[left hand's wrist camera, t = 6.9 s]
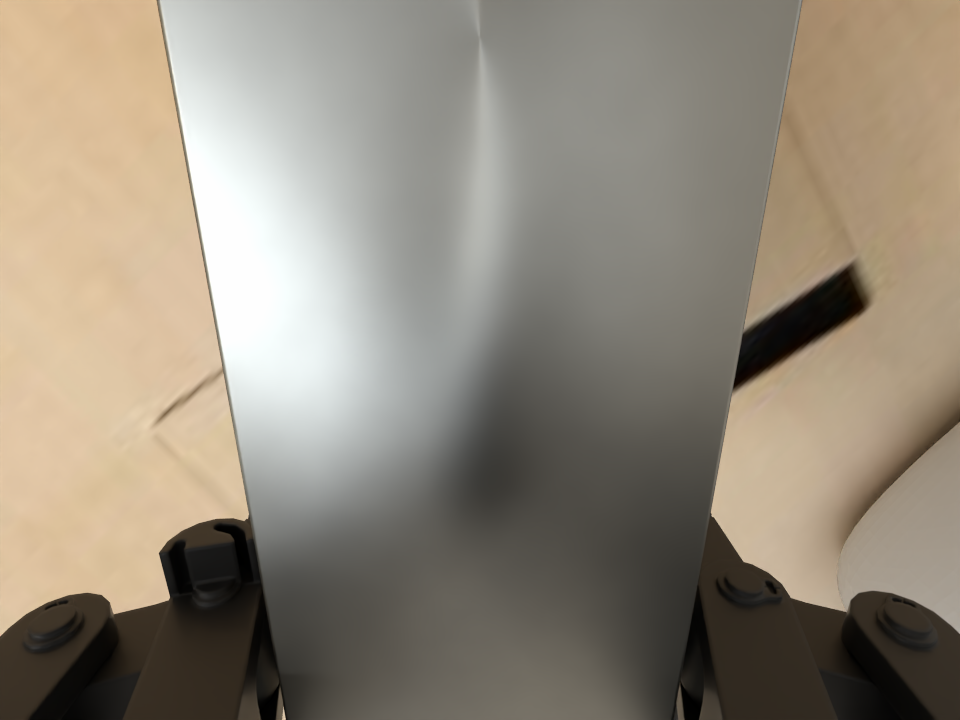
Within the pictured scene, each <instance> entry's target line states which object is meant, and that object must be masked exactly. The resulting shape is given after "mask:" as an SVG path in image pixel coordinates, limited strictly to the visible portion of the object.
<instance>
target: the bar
mask: <svg viewBox="0 0 960 720" xmlns="http://www.w3.org/2000/svg"><path fill="white" fill-rule="evenodd" d="M157 5H158V11H159V16H160V22H161V27H162V33H163V38H164V44H165V49H166V55H167V61H168V66H169V72H170V77H171V83H172V88H173V94H174V100H175V105H176V111H177V116H178V122H179V127H180V133H181V138H182V144H183V150H184V155H185V161H186V166H187V172H188V177H189V183H190V188H191V194H192V200H193V205H194V211H195V216H196V222H197V227H198V233H199V239H200V244H201V250H202V255H203V261H204V266H205V272H206V277H207V283H208V289H209V294H210V300H211V305H212V311H213V316H214V322H215V327H216V333H217V339H218V344H219V350H220V355H221V361H222V366H223V372H224V378H225V383H226V389H227V394H228V400H229V405H230V411H231V416H232V422H233V428H234V433H235V439H236V444H237V450H238V455H239V461H240V466H241V472H242V478H243V483H244V489H245V494H246V500H247V505H248V511H249V517H250V522H251V528H252V533H253V539H254V544H255V550H256V555H257V561H258V567H259V572H260V578H261V583H262V589H263V594H264V600H265V606H266V611H267V617H268V622H269V628H270V633H271V639H272V644H273V650H274V656H275V661H276V667H277V672H278V678H279V683H280V689H281V694H282V700H283V706H284V711H285V717H286V720H673V719H674V713H675V708H676V702H677V697H678V691H679V685H680V680H681V674H682V669H683V663H684V658H685V652H686V646H687V641H688V635H689V630H690V624H691V619H692V613H693V607H694V602H695V596H696V591H697V585H698V580H699V574H700V568H701V563H702V557H703V552H704V546H705V541H706V535H707V529H708V524H709V518H710V513H711V507H712V502H713V496H714V490H715V485H716V479H717V474H718V468H719V463H720V457H721V451H722V446H723V440H724V435H725V429H726V424H727V418H728V412H729V407H730V401H731V396H732V390H733V385H734V379H735V373H736V368H737V362H738V357H739V351H740V346H741V340H742V334H743V329H744V323H745V318H746V312H747V307H748V301H749V295H750V290H751V284H752V279H753V273H754V268H755V262H756V256H757V251H758V245H759V240H760V234H761V229H762V223H763V217H764V212H765V206H766V201H767V195H768V190H769V184H770V178H771V173H772V167H773V162H774V156H775V151H776V145H777V139H778V134H779V128H780V123H781V117H782V112H783V106H784V100H785V95H786V89H787V84H788V78H789V73H790V67H791V61H792V56H793V50H794V45H795V39H796V34H797V28H798V22H799V17H800V11H801V6H802V0H157Z"/></svg>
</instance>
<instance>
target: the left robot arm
mask: <svg viewBox="0 0 960 720" xmlns="http://www.w3.org/2000/svg"><path fill="white" fill-rule="evenodd" d="M159 555H160V559H161V563H162V567H163V571H164V575H165V579H166V582H167V586H168V590H169V594H170V599H169V601H165V602H162V603H159V604H156V605H152V606H148V607H143V608H139V609H135V610H131V611H126V612H122V613H118V614H114V615H113V612H112V608H111V605H110V602H109V601H108V600H106V599H105V598H104V597H103V596H102V595H97V594H92V593H82V594H75V595H68V596H65V597H62V598H60V599H57V600H54V601H51V602H48V603H46V604H44V605H42V606H40V607H39V608H37V609H35V610H33V611H31V612H29V613H28V614H26V615H25V616H24V617H22V618H21V619H20V620H19V621H17V622H16V623H15V624H14V625H12V626H11V627H10V628H9V629H8V630H7V631H6V632H5V633H4V634H3V635H1V636H0V720H282V714H283V700H282V694H281V689H280V683H279V678H278V672H277V667H276V661H275V656H274V650H273V644H272V639H271V633H270V628H269V622H268V617H267V611H266V606H265V600H264V594H263V589H262V583H261V578H260V572H259V567H258V561H257V555H256V550H255V544H254V539H253V533H252V528H251V522H250V517H249V518H248V519H246V520H245V521H241V520H237V519H234V518H231V519H215V520H211V521H206V522H202V523H199V524H196V525H194V526H192V527H190V528H188V529H185V530H183V531H181V532H180V533H179V534H177V535H176V536H175V537H173V538H172V539H170V540H169V541H168V542H167V543H166V544H165V546H164V547H163V548H162V550H161V551H160V552H159ZM673 720H960V634H959V633H958V632H957V631H956V630H955V629H954V628H953V627H952V626H951V625H950V624H949V623H947V622H946V621H945V620H944V619H942V618H941V617H940V616H939V615H937V614H936V613H935V612H934V611H932V610H930V609H928V608H926V607H924V606H922V605H921V604H919V603H917V602H915V601H913V600H910V599H908V598H905V597H902V596H899V595H896V594H893V593H888V592H880V591H867V592H861V593H858V594H857V595H856V596H855V597H853V598H852V599H851V600H850V604H849V607H848V610H847V612H843V611H839V610H835V609H830V608H826V607H822V606H818V605H813V604H809V603H805V602H802V601H798V600H795V599H792V598H790V596H789V594H788V593H787V591H786V590H785V588H784V587H783V585H782V584H781V583H780V582H779V581H777V580H776V579H775V578H774V577H773V576H771V575H770V574H769V573H768V572H766V571H764V570H762V569H760V568H758V567H756V566H754V565H752V564H748V563H745V562H743V561H742V559H741V558H740V556H739V555H738V553H737V552H736V550H735V549H734V547H733V546H732V544H731V543H730V541H729V540H728V538H727V537H726V535H725V534H724V532H723V531H722V529H721V528H720V526H719V525H718V523H717V522H716V520H715V519H714V517H712V516H711V513H710V518H709V524H708V529H707V535H706V541H705V546H704V552H703V557H702V563H701V568H700V574H699V580H698V585H697V591H696V596H695V602H694V607H693V613H692V619H691V624H690V630H689V635H688V641H687V646H686V652H685V658H684V663H683V669H682V674H681V680H680V685H679V691H678V697H677V702H676V708H675V713H674V719H673Z"/></svg>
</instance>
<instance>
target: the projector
mask: <svg viewBox="0 0 960 720" xmlns="http://www.w3.org/2000/svg"><path fill="white" fill-rule="evenodd" d="M837 581H838V589H839V593H840V597H841V600H842V602H843V605H844V607H845V609H846V611H847V610H848V607H849V604H850V600H851V599H852V598H853V597H855V596H856V595H857V594H858V593H861V592H867V591H880V592H888V593H893V594H896V595H899V596H902V597H905V598H908V599H910V600H913V601H915V602H917V603H919V604H921V605H922V606H924V607H926V608H928V609H930V610H932V611H934V612H935V613H936V614H937V615H939V616H940V617H941V618H942V619H944V620H945V621H946V622H947V623H949V624H950V625H951V626H952V627H953V628H954V629H955V630H956V631H957V632H958V633H959V634H960V422H959V423H958V424H957V425H956V426H954V427H953V428H952V429H951V430H950V431H949V432H948V433H946V434H945V435H944V436H943V437H942V438H941V439H940V440H938V441H937V442H936V443H935V444H934V445H933V446H932V447H931V448H930V449H928V450H927V451H926V452H925V453H924V454H923V455H922V456H921V457H920V458H919V459H918V460H917V461H916V462H914V463H913V464H912V465H911V466H910V467H909V468H908V469H907V470H906V471H905V472H904V473H903V474H902V475H901V476H900V477H899V478H898V479H897V480H896V481H895V482H894V483H893V484H892V485H891V486H890V487H889V488H888V489H887V490H886V491H885V492H884V493H883V494H882V495H881V496H880V497H879V499H878V500H877V501H876V502H875V503H874V504H873V505H872V506H871V507H870V508H869V509H868V511H867V512H866V513H865V514H864V516H863V517H862V518H861V519H860V521H859V522H858V523H857V525H856V526H855V527H854V529H853V530H852V532H851V534H850V535H849V537H848V538H847V540H846V542H845V544H844V546H843V549H842V551H841V554H840V557H839V561H838V567H837Z"/></svg>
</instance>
